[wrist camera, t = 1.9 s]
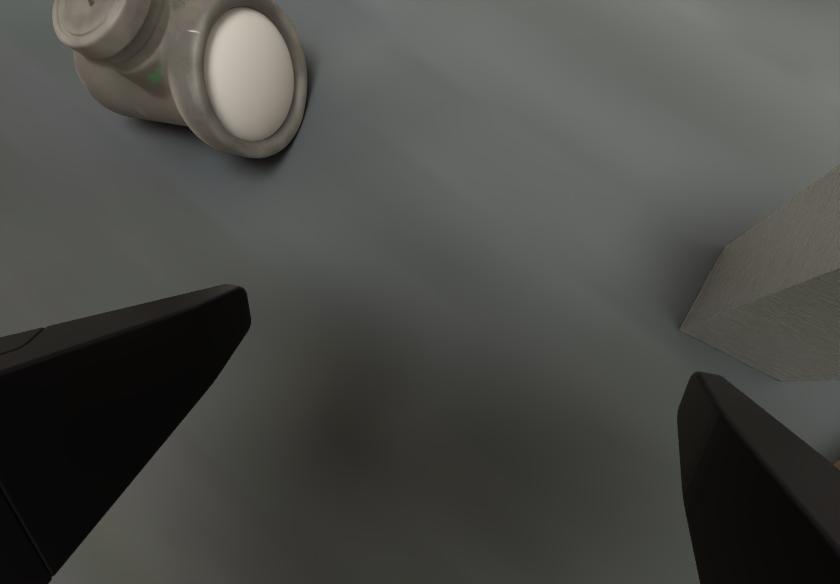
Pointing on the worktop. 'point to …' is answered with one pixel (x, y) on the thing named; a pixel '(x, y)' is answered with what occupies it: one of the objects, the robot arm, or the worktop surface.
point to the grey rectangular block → (779, 290)
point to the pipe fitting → (193, 66)
